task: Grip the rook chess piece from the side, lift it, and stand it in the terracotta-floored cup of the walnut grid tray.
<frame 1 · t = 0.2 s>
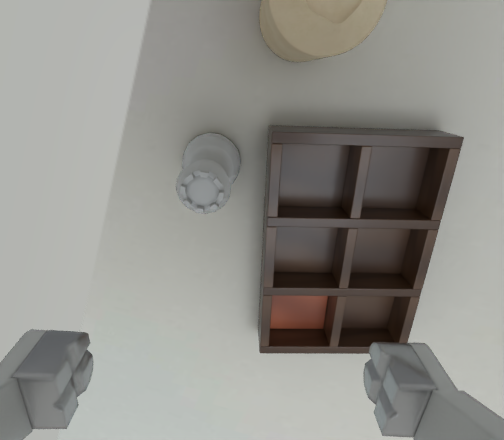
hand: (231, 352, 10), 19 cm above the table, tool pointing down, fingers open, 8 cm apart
rook chess piece: (212, 160, 27), on the table
grid: (338, 242, 30), on the table
candle: (298, 18, 23), on the table
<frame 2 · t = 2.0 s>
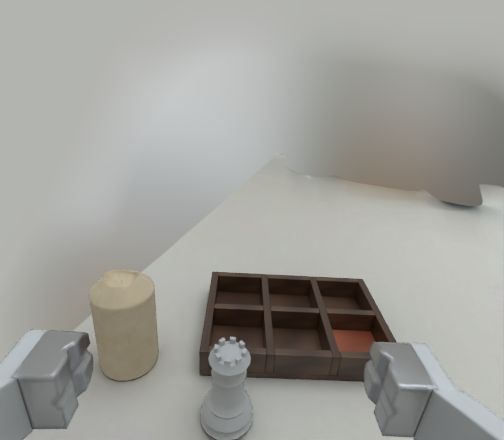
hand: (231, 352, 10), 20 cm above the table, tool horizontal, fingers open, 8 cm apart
rook chess piece: (226, 419, 29), on the table
grid: (291, 330, 39), on the table
candle: (130, 360, 34), on the table
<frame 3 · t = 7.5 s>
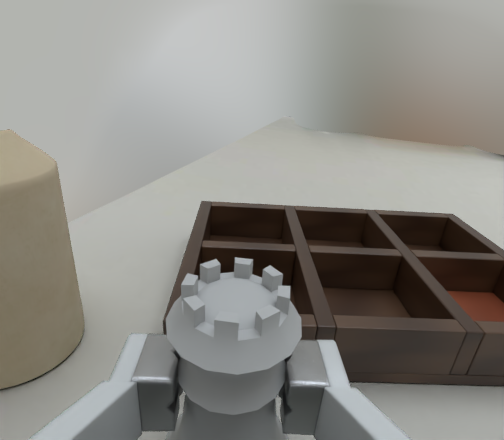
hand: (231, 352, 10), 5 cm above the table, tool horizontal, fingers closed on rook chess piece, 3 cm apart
grid: (345, 292, 21), on the table
candle: (22, 345, 16), on the table
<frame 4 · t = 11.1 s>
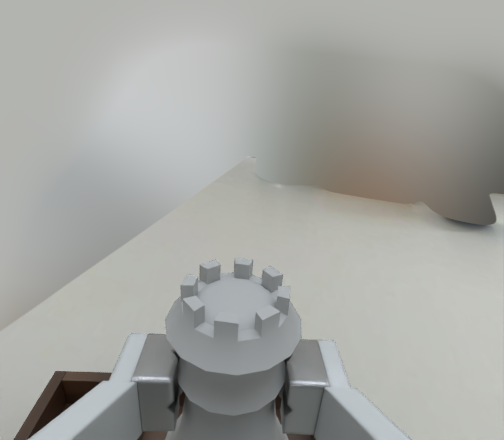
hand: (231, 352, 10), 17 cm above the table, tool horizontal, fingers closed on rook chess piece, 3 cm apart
when the fingers open (6 cm above the table, at t = 14.9 s): rook chess piece stays where it is, resting on grid.
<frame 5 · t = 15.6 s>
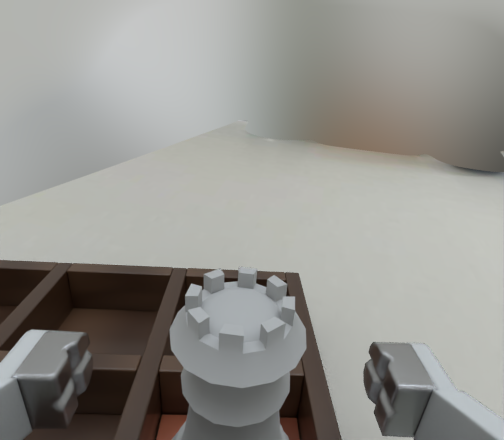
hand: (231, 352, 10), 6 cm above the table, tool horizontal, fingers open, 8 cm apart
grid: (77, 414, 14), on the table
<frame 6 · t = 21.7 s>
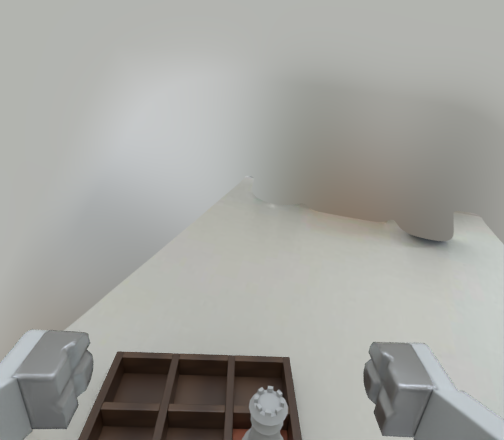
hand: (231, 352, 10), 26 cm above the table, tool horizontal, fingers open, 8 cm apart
grid: (196, 428, 34), on the table
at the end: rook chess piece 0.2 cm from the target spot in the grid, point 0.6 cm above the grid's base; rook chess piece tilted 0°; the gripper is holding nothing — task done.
